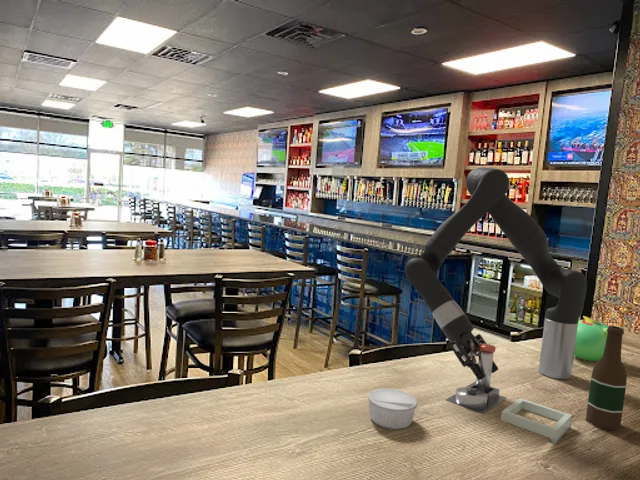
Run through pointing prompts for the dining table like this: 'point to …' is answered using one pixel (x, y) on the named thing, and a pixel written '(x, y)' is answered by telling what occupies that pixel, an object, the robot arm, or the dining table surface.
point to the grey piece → (476, 398)
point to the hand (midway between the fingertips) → (489, 374)
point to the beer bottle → (608, 385)
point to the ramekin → (391, 408)
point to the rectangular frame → (545, 430)
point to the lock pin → (485, 366)
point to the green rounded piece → (590, 339)
